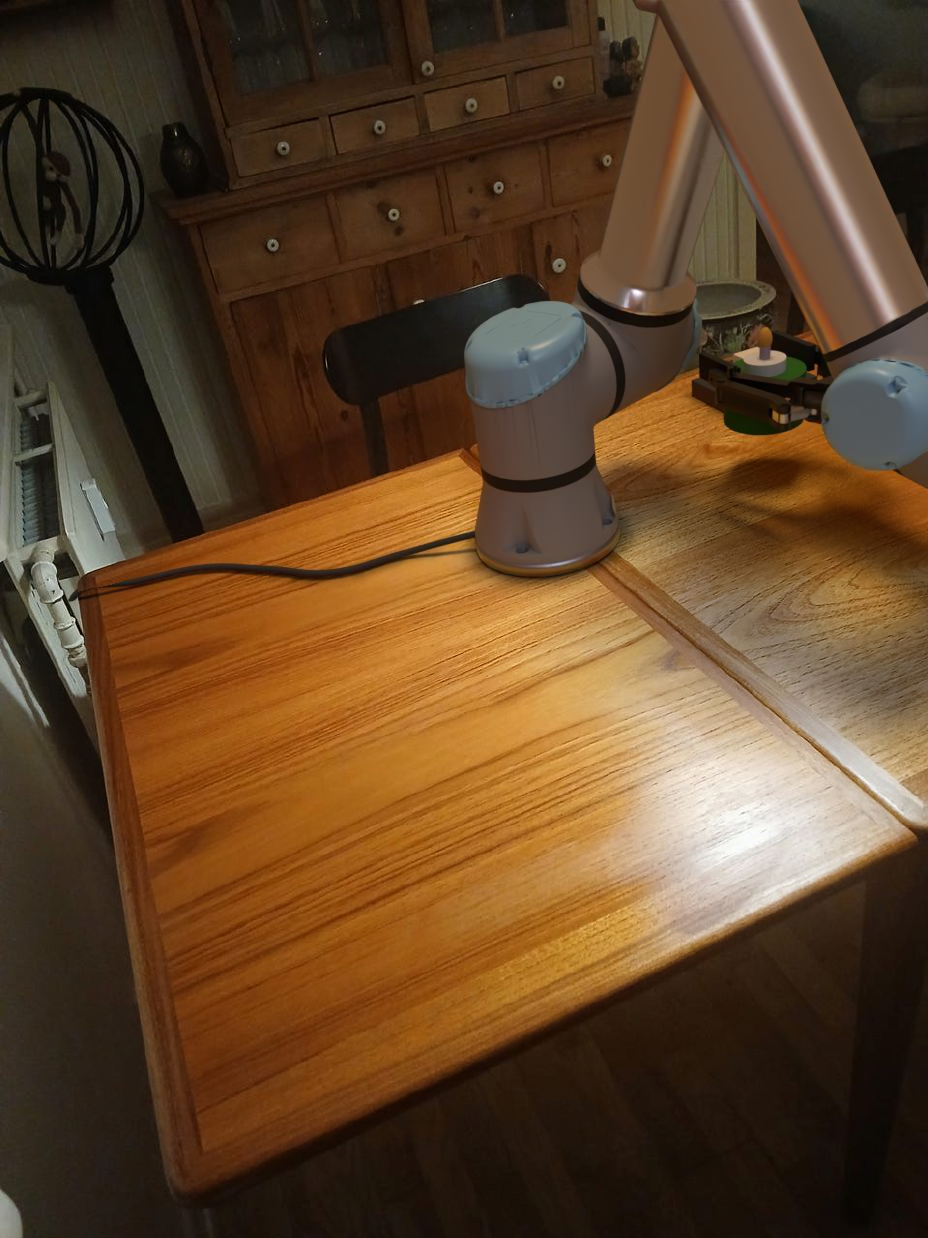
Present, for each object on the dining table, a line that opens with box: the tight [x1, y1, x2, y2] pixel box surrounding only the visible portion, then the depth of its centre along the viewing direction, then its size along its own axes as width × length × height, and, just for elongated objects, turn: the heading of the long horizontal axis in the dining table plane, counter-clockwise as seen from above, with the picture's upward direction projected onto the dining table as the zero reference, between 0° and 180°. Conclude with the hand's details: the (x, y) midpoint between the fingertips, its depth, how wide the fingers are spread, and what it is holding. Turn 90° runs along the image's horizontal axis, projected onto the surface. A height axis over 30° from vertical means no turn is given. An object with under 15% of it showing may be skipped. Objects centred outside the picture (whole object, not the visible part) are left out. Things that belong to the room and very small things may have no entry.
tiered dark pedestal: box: [691, 359, 818, 413], centre depth 122 cm, size 12×10×4 cm
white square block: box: [732, 346, 760, 363], centre depth 121 cm, size 4×4×2 cm
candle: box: [723, 326, 808, 436], centre depth 99 cm, size 8×8×10 cm
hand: (738, 353), depth 103 cm, fingers closed on candle, 8 cm apart
